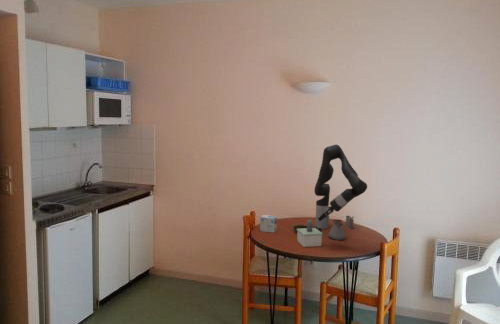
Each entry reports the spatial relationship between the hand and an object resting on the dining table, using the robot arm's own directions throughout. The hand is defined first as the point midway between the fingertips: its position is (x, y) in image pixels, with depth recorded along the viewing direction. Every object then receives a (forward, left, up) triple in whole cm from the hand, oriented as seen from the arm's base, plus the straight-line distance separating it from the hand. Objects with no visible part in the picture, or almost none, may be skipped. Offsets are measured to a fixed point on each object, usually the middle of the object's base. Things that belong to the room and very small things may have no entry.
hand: (320, 218), depth 252 cm
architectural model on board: (-40, -38, -19) cm, 58 cm away
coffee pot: (-17, -7, -18) cm, 26 cm away
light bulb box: (+23, -38, -18) cm, 48 cm away
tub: (+5, -4, -18) cm, 19 cm away
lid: (+5, -4, -11) cm, 13 cm away
